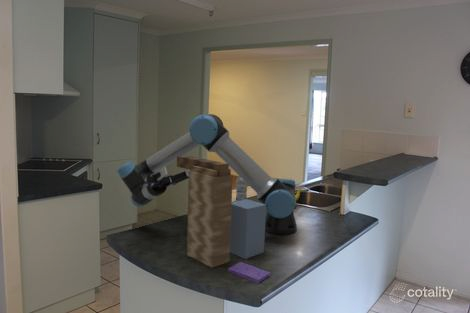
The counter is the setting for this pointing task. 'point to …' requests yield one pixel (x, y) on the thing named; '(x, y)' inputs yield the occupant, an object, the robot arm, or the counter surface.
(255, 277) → the sponges
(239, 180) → the plastic bottle
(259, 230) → the blue step
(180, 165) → the walnut bar
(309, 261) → the counter surface
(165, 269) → the counter surface
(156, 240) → the counter surface
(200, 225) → the oak post
